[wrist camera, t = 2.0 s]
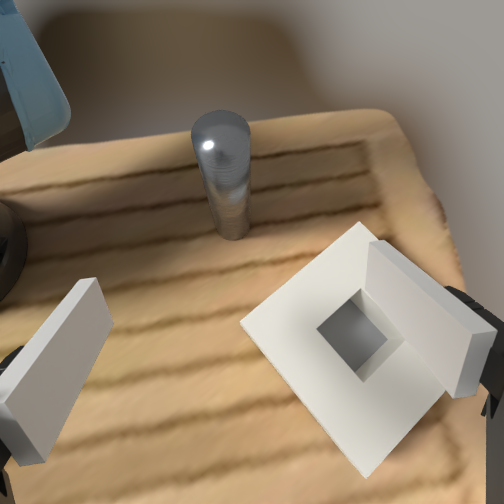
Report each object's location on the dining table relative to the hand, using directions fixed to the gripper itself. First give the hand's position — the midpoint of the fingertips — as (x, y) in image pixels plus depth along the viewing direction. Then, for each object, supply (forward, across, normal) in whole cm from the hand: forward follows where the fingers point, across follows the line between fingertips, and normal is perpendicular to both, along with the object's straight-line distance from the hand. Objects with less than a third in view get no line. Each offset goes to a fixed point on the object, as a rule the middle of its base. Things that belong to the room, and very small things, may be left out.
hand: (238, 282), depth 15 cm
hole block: (+10, +10, -14) cm, 20 cm away
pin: (+20, 0, -4) cm, 20 cm away
